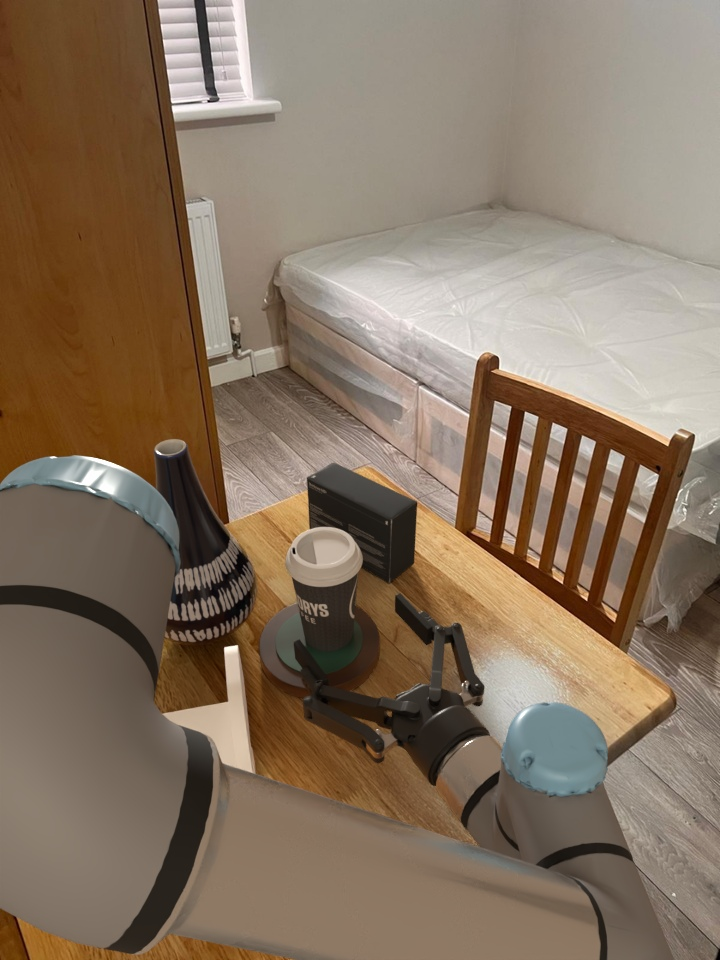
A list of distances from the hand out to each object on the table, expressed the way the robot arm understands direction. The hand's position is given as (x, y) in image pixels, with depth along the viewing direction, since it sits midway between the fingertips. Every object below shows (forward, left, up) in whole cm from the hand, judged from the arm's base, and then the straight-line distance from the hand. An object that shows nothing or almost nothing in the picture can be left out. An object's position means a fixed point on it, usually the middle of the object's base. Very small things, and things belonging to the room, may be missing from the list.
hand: (348, 624), depth 85 cm
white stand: (-9, -20, -13) cm, 25 cm away
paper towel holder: (-7, +4, -13) cm, 15 cm away
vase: (-24, +1, -13) cm, 27 cm away
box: (-12, +25, -13) cm, 31 cm away
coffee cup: (-7, +6, -10) cm, 14 cm away
